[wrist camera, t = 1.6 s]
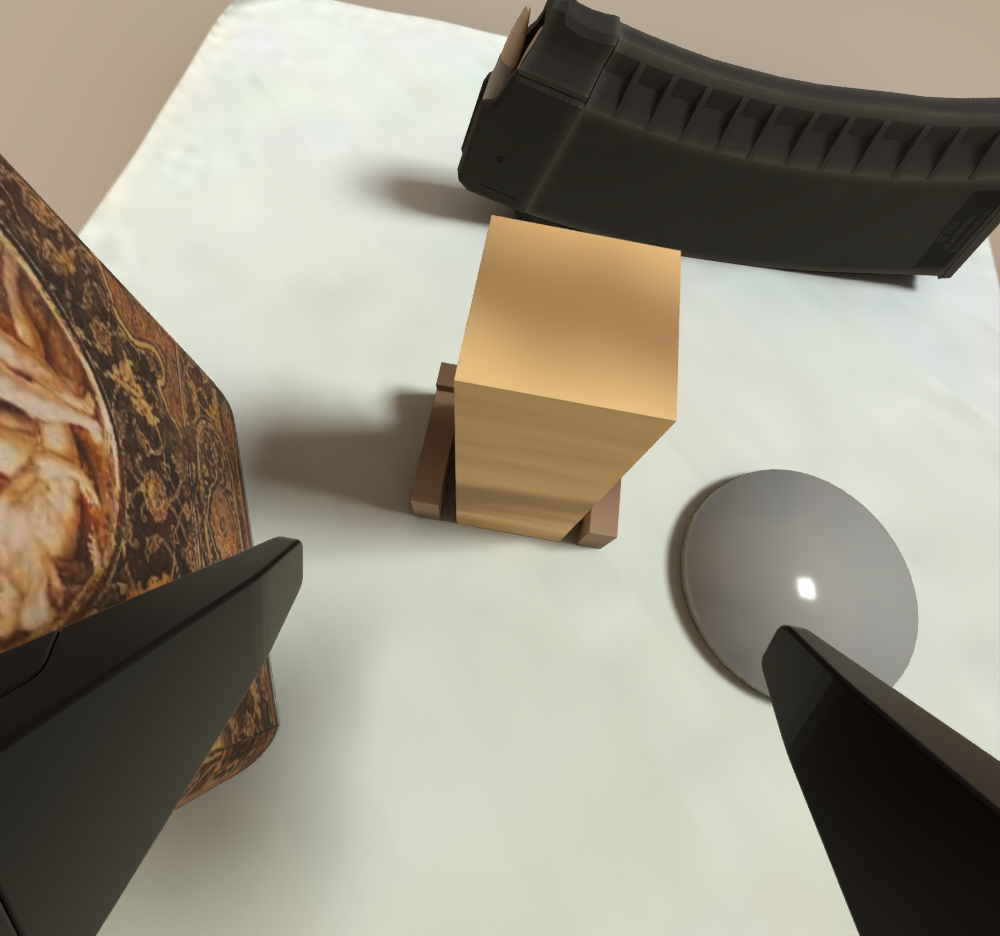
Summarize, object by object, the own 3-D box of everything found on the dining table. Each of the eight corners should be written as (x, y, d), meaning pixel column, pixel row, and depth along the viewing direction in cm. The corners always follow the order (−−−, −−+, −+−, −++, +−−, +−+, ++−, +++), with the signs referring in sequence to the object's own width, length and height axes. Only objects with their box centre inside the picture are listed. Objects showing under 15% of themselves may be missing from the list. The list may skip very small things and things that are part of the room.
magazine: (1131, 123, 23) (615, -330, 14) (1157, 169, 22) (614, -292, 13) (805, 321, 38) (453, 167, 29) (811, 355, 37) (446, 205, 28)
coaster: (772, 757, 20) (784, 762, 19) (638, 526, 23) (644, 523, 22) (949, 638, 22) (966, 637, 22) (806, 444, 26) (817, 437, 25)
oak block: (559, 541, 23) (676, 421, 10) (456, 523, 22) (454, 380, 10) (570, 447, 24) (680, 250, 12) (475, 429, 24) (491, 214, 12)
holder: (600, 548, 23) (620, 535, 20) (414, 515, 22) (408, 497, 20) (610, 424, 25) (629, 396, 22) (443, 394, 25) (441, 362, 22)
